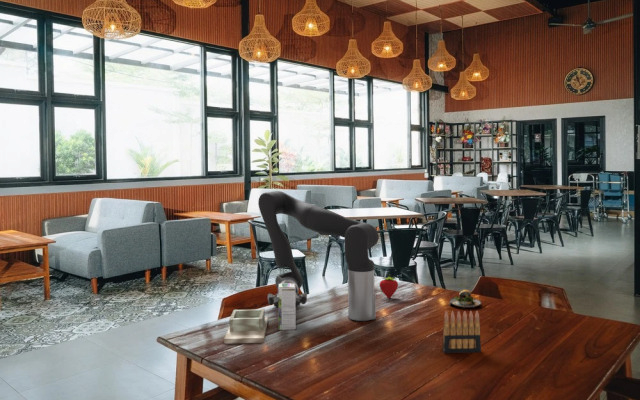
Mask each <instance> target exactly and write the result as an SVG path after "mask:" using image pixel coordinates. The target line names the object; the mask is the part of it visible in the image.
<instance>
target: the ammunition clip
mask: <svg viewBox="0 0 640 400" xmlns="http://www.w3.org/2000/svg"><path fill="white" fill-rule="evenodd" d="M461 315H462V316H461ZM455 318H456V319H455ZM449 319H450V321H449ZM480 328H481V323H480V314H479V311H478V310H476V311H475V314H474V315H473V312H472V310H470V311H469V314H467V311H466V310H464V311H463V314H461V312H460V310H458V311H457V315H456V317H455V312H454V311H453V310H452V311H451V314H450V318H449V313H448V311H447V310H446V311H445V312H444V319H443V334H442V352H443V353H444V354H453V353H454V354H458V353H462V354H463V353H466V354H468V353H481V352H482V346H481V344H482V342H481V329H480Z"/></svg>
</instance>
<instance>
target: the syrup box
mask: <svg viewBox="0 0 640 400" xmlns="http://www.w3.org/2000/svg"><path fill="white" fill-rule="evenodd" d="M277 292H278V291H277ZM296 308H297V307H296V292H295V284H294V283H281V284H279V292H278V308H277V310H278V314H277V316H278V320H277V321H278V330H279V331H290V330H296V328H297V327H296V325H297V321H296V320H297V319H296V318H297V317H296V315H297V313H296V311H297V310H296Z"/></svg>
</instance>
